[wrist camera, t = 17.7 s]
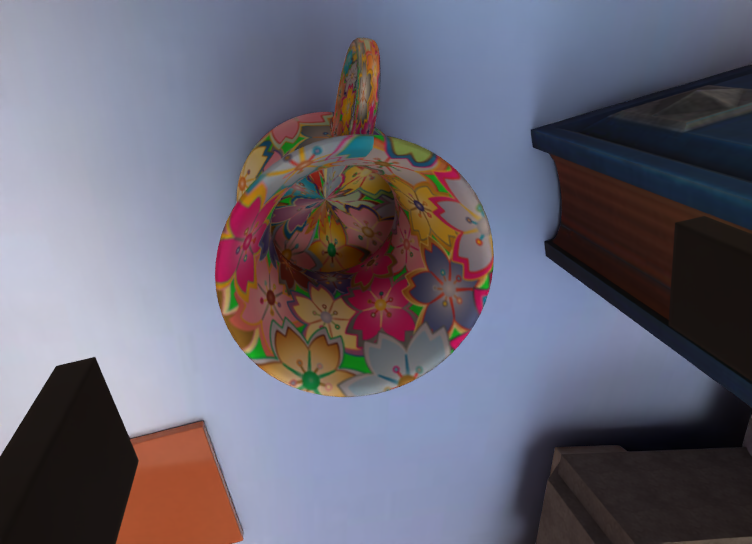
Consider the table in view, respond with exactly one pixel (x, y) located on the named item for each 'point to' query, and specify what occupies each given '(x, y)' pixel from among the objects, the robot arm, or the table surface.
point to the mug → (351, 249)
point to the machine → (649, 496)
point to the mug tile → (178, 492)
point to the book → (652, 195)
